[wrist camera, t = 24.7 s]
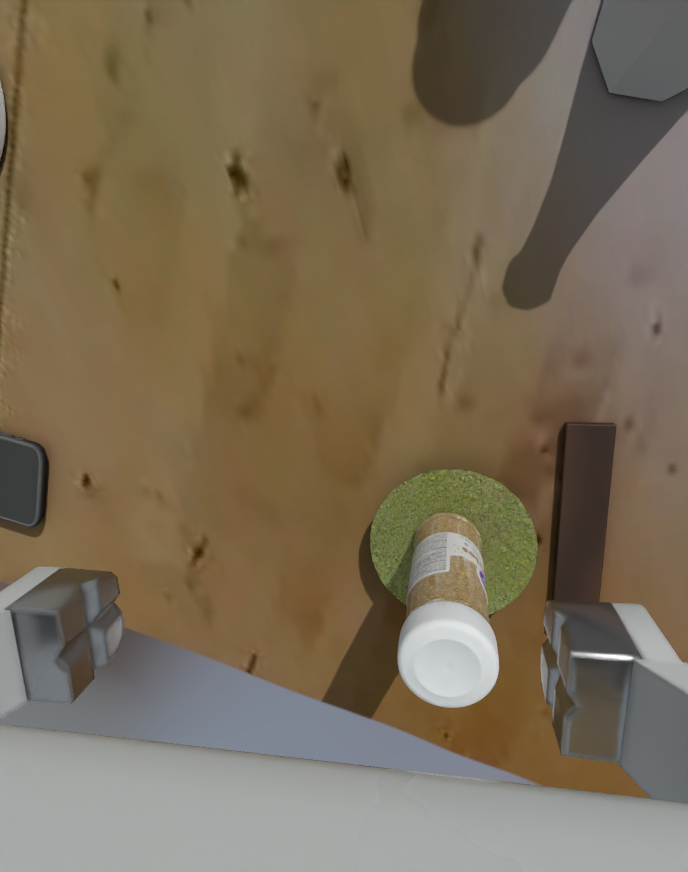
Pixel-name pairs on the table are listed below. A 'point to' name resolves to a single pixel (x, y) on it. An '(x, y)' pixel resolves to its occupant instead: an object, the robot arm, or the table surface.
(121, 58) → the table surface
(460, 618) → the sprinkles bottle
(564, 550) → the walnut strip
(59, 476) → the table surface
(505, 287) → the table surface
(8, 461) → the smartphone
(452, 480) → the green flat disc
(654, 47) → the flask
